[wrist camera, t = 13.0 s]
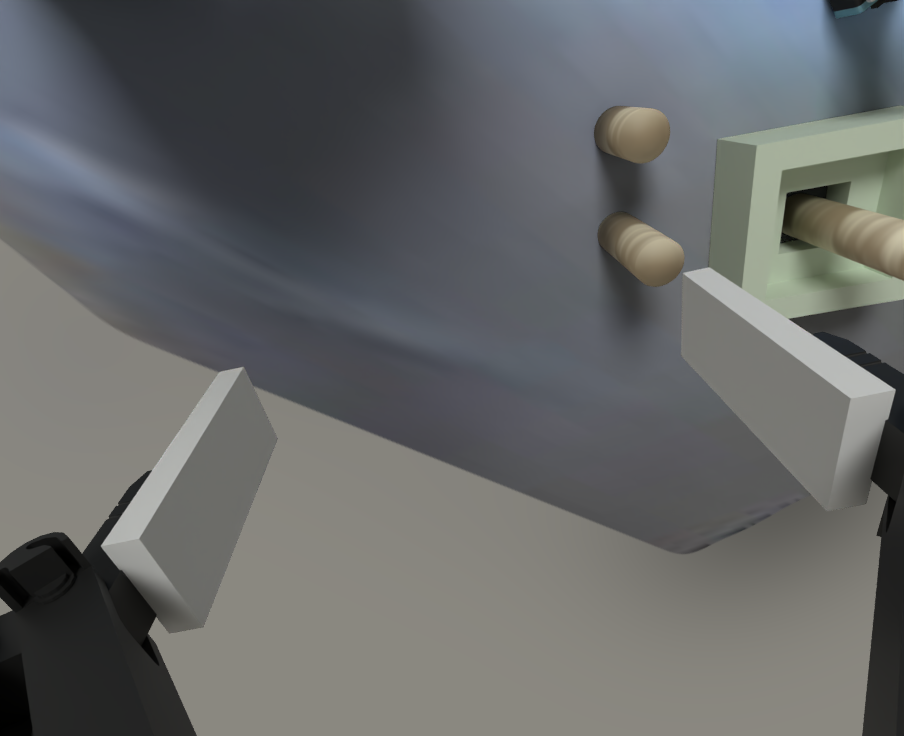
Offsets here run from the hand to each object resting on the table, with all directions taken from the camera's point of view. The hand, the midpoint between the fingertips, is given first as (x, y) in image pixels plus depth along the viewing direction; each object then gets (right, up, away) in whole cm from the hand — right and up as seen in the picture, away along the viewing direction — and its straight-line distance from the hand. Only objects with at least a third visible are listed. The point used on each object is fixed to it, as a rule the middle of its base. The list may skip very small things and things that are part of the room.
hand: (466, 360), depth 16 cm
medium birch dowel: (+14, +11, +28) cm, 34 cm away
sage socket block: (+29, +13, +28) cm, 42 cm away
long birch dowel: (+29, +13, +28) cm, 42 cm away
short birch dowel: (+12, +18, +25) cm, 33 cm away
